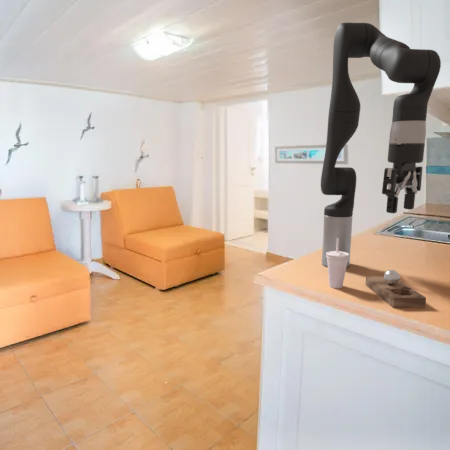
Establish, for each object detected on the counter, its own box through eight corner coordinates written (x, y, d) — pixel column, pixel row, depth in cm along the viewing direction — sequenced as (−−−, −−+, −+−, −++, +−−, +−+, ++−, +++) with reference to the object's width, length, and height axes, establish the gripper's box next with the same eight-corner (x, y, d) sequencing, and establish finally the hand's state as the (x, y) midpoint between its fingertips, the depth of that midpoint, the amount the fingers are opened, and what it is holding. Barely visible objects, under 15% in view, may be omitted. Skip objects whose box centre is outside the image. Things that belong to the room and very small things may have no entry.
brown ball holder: (365, 284, 108) (366, 276, 108) (392, 284, 109) (393, 276, 108) (393, 307, 92) (393, 297, 91) (425, 307, 92) (426, 297, 91)
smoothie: (343, 282, 110) (345, 236, 108) (350, 289, 104) (353, 240, 102) (321, 282, 110) (323, 236, 108) (328, 290, 104) (330, 241, 101)
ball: (380, 281, 103) (381, 268, 102) (394, 281, 103) (395, 267, 102) (387, 286, 99) (388, 272, 98) (401, 286, 99) (403, 272, 99)
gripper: (405, 142, 94) (399, 206, 97) (375, 141, 85) (369, 212, 88) (436, 142, 88) (429, 209, 91) (408, 141, 79) (401, 216, 83)
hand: (400, 210), depth 90 cm, fingers open, 8 cm apart
